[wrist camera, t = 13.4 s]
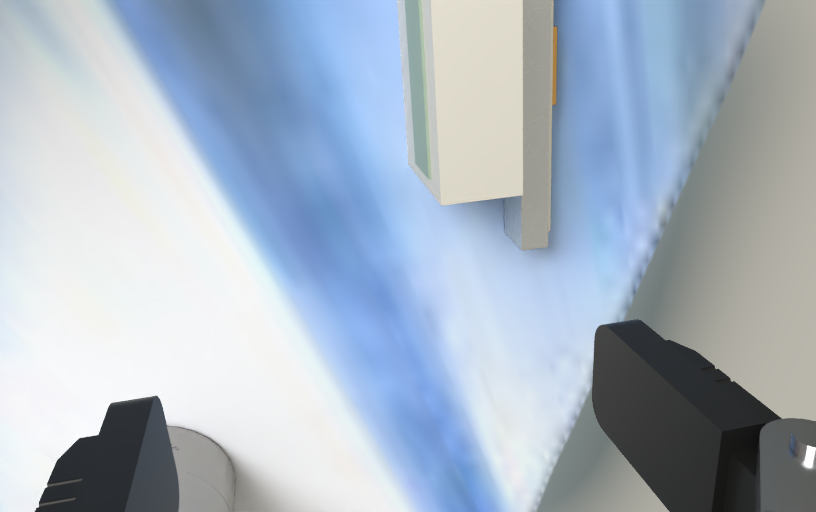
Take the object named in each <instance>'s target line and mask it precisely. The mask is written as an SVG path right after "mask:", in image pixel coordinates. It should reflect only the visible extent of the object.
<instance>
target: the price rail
mask: <svg viewBox="0 0 816 512" xmlns="http://www.w3.org/2000/svg"><path fill="white" fill-rule="evenodd" d="M553 8H554V0H523V195H521V196H513V197H505V198H504V224H505V234H506V235H507V236H508V237H509V238H510V239H511V240H512V241H513V242H514V243H515V244H516V245H517V246H518V247H519V248H520V249H521V250H529V249H536V248H543V247H548V231H550V225H551V153H552V105H556V71H557V27H555V26H553Z"/></svg>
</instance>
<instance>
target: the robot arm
mask: <svg viewBox="0 0 816 512" xmlns="http://www.w3.org/2000/svg"><path fill="white" fill-rule="evenodd" d="M592 402H593V408H594V412H595V415H596V418H597V420H598V423H599V425H600V426H601V428H602V429H603V431H604V432H605V433H606V434H607V436H608V437H609V438H610V439H611V440H612V442H613V443H614V444H615V445H616V447H617V448H618V449H619V450H620V452H621V453H622V454H623V455H624V456H625V458H626V459H627V460H628V461H629V463H630V464H631V465H632V466H633V467H634V469H635V470H636V471H637V472H638V473H639V475H640V476H641V477H642V478H643V480H644V481H645V482H646V483H647V484H648V486H649V487H650V488H651V489H652V491H653V492H654V493H655V494H656V495H657V497H658V498H659V499H660V500H661V502H662V503H663V504H664V505H665V507H666V508H667V509H668V510H669V511H670V512H816V421H811V420H806V419H795V418H788V419H781V418H780V417H779V416H778V415H776V414H775V413H774V412H773V411H771V410H770V409H769V408H768V407H766V406H765V405H764V404H762V403H761V402H760V401H759V400H757V399H756V398H755V397H754V396H752V395H751V394H750V393H748V392H747V391H746V390H745V389H743V388H742V387H741V386H740V385H738V384H737V383H736V382H734V381H733V382H731V380H730V378H729V377H728V376H727V375H726V374H724V373H723V372H722V371H720V370H719V369H715V366H714V365H713V364H712V363H710V362H709V361H708V360H706V359H705V358H704V357H702V356H701V355H700V354H699V353H697V352H696V351H694V350H692V349H689V348H687V347H685V346H682V345H680V344H678V343H676V342H673V341H671V340H667V341H666V340H664V339H663V338H662V337H661V336H660V335H658V334H657V333H656V332H655V331H653V330H652V329H651V328H649V326H647V325H646V324H645V323H644V322H642V321H641V320H630V321H624V322H618V323H611V324H605V325H601V326H599V327H598V328H597V330H596V333H595V341H594V364H593V386H592ZM47 485H48V487H47V488H45V490H44V492H43V494H42V497H41V499H40V501H39V508H36V511H35V512H234V494H235V476H234V471H233V467H232V465H231V463H230V461H229V459H228V457H227V455H226V454H225V453H224V452H223V451H222V450H221V448H220V447H219V446H218V445H216V444H215V443H214V442H212V441H211V440H210V439H208V438H207V437H205V436H203V435H200V434H198V433H196V432H194V431H191V430H187V429H183V428H179V427H169V426H167V425H166V420H165V416H164V412H163V407H162V404H161V401H160V399H159V397H158V396H152V397H146V398H140V399H134V400H128V401H121V402H115V403H111V404H110V405H109V408H108V410H107V413H106V416H105V419H104V421H103V424H102V427H101V430H100V432H99V435H96V436H91V437H85V438H79V439H78V440H77V441H76V442H75V443H74V444H73V445H72V446H71V447H70V448H69V449H68V450H67V451H66V452H65V453H64V454H63V455H62V456H61V457H60V458H59V459H58V460H57V462H56V464H55V467H54V469H53V471H52V474H51V476H50V478H49V481H48V483H47Z"/></svg>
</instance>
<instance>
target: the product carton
mask: <svg viewBox="0 0 816 512" xmlns="http://www.w3.org/2000/svg"><path fill="white" fill-rule="evenodd" d="M397 7H398V22H399V36H400V51H401V65H402V80H403V94H404V109H405V123H406V138H407V152H408V165H409V166H410V167H411V168H412V170H413V171H414V172H415V173H416V175H417V176H418V177H419V178H420V180H421V181H422V182H423V183H424V185H425V186H426V187H427V188H428V190H429V191H430V192H431V193H432V195H433V196H434V197H435V198H436V200H437V201H438V202H439V203H440V205H441V206H443V205H450V204H458V203H466V202H474V201H482V200H490V199H497V198H505V197H513V196H521V195H523V0H397Z"/></svg>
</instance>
